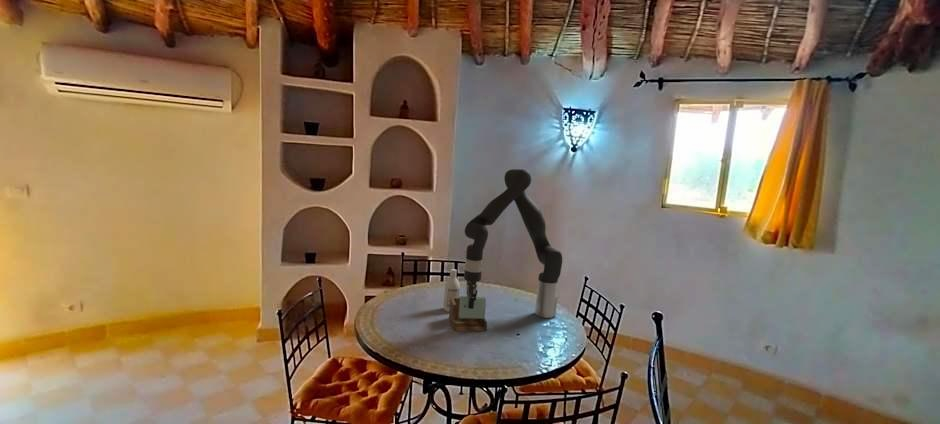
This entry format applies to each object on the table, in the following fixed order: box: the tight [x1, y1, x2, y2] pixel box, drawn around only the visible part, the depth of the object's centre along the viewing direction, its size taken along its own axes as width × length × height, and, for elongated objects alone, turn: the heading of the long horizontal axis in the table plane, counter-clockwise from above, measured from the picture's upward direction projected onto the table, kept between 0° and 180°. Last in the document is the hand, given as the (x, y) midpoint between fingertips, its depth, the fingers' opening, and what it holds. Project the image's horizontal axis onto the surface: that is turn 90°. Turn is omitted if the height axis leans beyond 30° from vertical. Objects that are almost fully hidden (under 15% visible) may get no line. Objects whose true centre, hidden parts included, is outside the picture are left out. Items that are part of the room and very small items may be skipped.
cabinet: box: [448, 296, 488, 332], centre depth 225 cm, size 14×14×10 cm
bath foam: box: [443, 268, 461, 313], centre depth 240 cm, size 7×7×20 cm
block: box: [459, 295, 487, 319], centre depth 220 cm, size 11×3×9 cm, turn 100°
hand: (470, 306), depth 220 cm, fingers closed on block, 2 cm apart
